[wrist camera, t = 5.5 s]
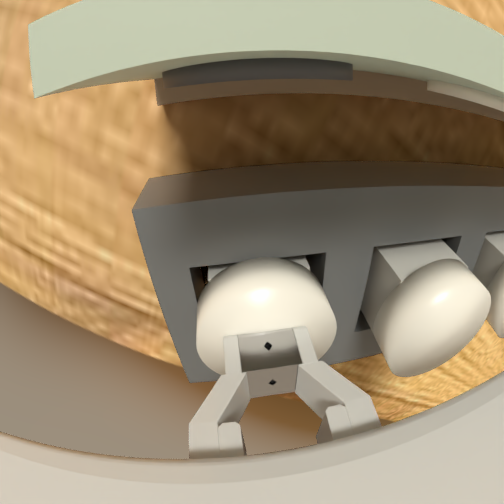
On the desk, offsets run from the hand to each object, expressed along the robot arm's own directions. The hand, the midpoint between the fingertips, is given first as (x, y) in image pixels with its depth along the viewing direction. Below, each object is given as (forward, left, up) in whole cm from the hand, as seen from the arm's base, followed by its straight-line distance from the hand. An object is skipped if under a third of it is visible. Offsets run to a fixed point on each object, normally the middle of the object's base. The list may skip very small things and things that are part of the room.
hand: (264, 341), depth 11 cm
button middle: (-7, 0, -3) cm, 8 cm away
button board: (-7, 0, -5) cm, 9 cm away
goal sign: (-7, -9, -5) cm, 13 cm away
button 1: (0, 0, -5) cm, 5 cm away
